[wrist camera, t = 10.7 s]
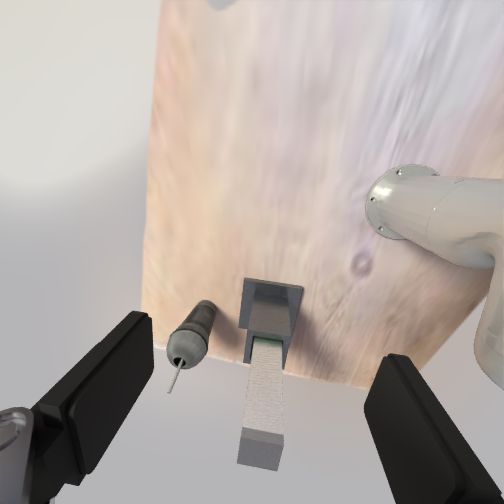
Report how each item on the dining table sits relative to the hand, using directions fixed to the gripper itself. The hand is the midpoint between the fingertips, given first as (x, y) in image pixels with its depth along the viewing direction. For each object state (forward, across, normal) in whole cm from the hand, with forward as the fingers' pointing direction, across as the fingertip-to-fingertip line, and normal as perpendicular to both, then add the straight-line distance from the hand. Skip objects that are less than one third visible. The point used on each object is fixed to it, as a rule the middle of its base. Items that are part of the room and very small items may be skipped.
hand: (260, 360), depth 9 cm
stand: (+36, -2, +21) cm, 42 cm away
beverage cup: (+36, +12, +24) cm, 45 cm away
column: (+29, -2, +21) cm, 36 cm away
